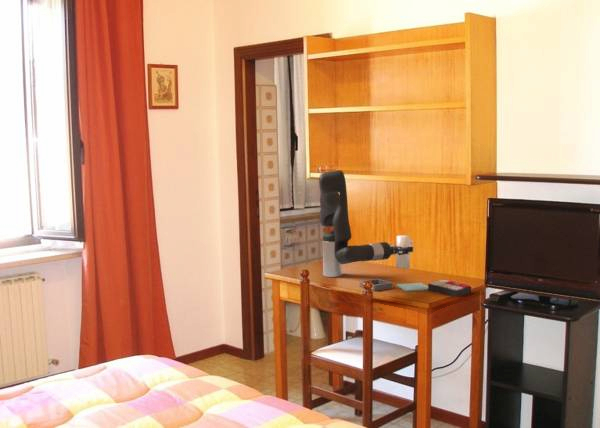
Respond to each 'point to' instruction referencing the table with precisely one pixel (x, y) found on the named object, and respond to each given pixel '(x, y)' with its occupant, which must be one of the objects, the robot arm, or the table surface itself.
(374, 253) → the robot arm
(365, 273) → the table surface
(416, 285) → the coaster pad
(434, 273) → the table surface
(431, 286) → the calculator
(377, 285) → the holder
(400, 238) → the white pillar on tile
